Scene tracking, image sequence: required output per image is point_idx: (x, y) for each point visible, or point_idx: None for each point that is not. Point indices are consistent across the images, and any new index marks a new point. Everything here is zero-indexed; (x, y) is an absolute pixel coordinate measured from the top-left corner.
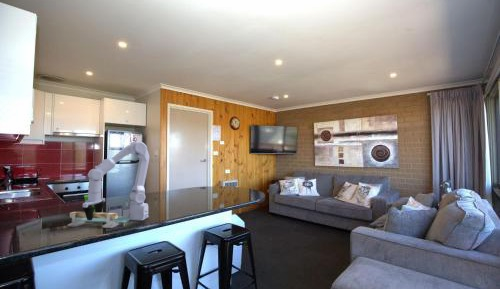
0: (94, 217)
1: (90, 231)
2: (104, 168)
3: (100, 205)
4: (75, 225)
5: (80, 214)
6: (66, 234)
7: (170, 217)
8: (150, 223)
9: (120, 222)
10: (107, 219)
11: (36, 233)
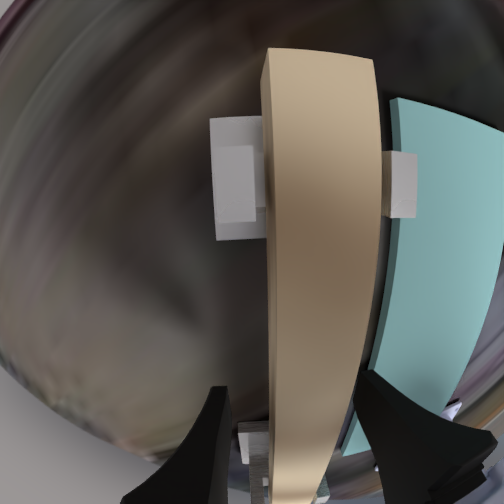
0: (269, 427)
1: (147, 403)
2: None
3: (397, 500)
4: (216, 217)
5: (275, 291)
6: (48, 302)
7: None
8: None
9: (345, 442)
10: (250, 481)
11: (29, 73)
